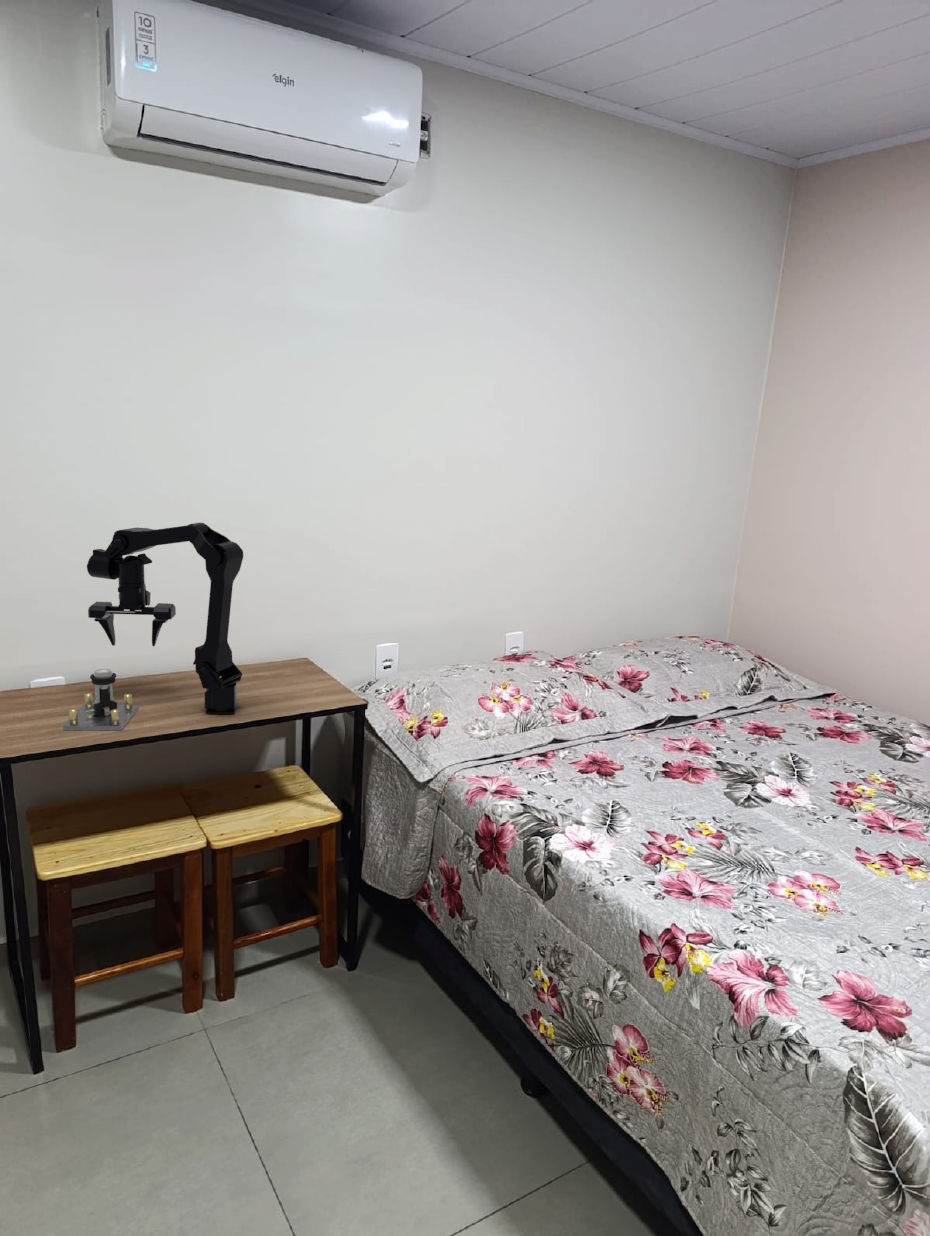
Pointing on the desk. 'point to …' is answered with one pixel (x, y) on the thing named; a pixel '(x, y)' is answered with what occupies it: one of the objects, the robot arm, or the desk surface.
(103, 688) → the push button
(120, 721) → the chassis
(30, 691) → the desk surface
